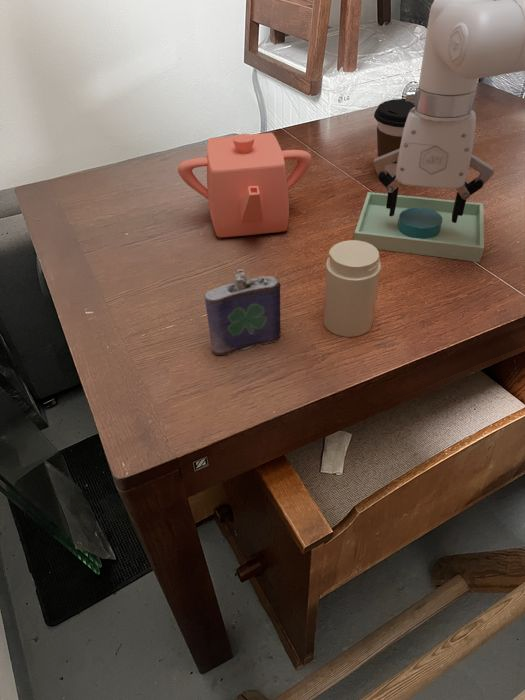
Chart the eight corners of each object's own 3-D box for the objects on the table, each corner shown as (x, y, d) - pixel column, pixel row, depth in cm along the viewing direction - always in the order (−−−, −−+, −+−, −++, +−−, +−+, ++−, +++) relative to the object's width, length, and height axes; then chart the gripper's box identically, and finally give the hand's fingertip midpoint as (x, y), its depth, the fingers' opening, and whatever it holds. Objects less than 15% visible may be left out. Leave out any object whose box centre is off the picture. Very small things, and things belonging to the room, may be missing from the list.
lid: (395, 236, 81) (397, 225, 80) (398, 216, 86) (400, 205, 85) (439, 241, 80) (442, 230, 79) (440, 220, 85) (443, 209, 83)
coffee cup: (398, 189, 94) (409, 123, 86) (356, 170, 101) (362, 107, 92) (436, 172, 99) (449, 107, 91) (393, 155, 105) (402, 93, 97)
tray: (479, 216, 86) (483, 203, 84) (479, 262, 76) (484, 248, 74) (366, 204, 90) (367, 191, 89) (353, 246, 81) (354, 232, 79)
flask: (214, 358, 63) (204, 289, 56) (209, 343, 65) (198, 275, 58) (283, 340, 65) (283, 271, 58) (276, 326, 67) (274, 258, 60)
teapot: (185, 202, 94) (173, 125, 84) (302, 191, 95) (303, 114, 85) (186, 261, 79) (172, 176, 70) (324, 248, 81) (329, 162, 71)
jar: (372, 307, 69) (382, 239, 62) (372, 339, 65) (383, 270, 57) (324, 303, 70) (328, 236, 63) (321, 335, 66) (324, 266, 58)
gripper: (377, 107, 69) (365, 221, 80) (513, 114, 65) (479, 233, 76) (383, 90, 74) (371, 199, 86) (510, 96, 70) (479, 210, 81)
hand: (422, 215), depth 81 cm, fingers open, 9 cm apart
